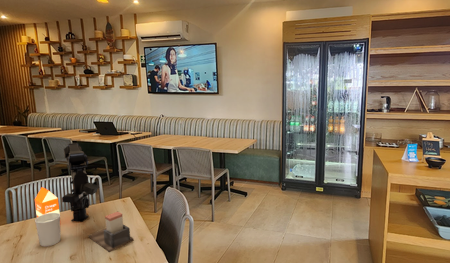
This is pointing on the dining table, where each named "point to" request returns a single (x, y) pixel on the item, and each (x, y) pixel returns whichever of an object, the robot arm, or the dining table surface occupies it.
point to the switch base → (112, 238)
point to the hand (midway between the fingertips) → (81, 208)
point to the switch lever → (114, 222)
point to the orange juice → (46, 203)
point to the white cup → (48, 229)
